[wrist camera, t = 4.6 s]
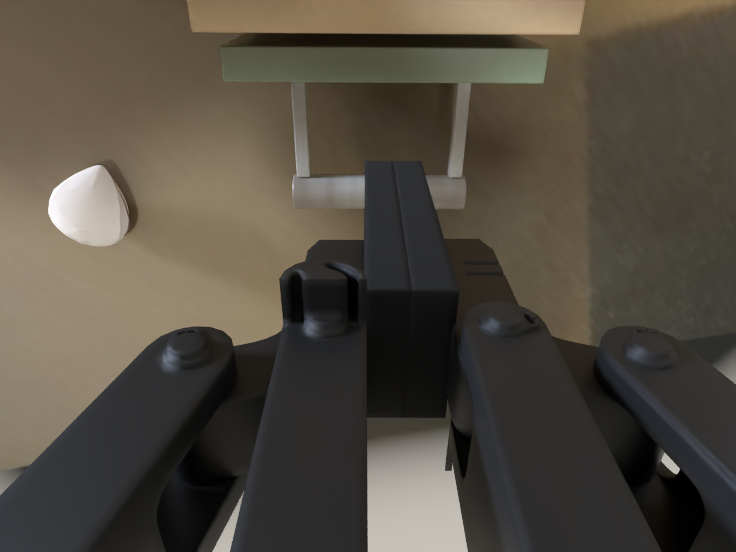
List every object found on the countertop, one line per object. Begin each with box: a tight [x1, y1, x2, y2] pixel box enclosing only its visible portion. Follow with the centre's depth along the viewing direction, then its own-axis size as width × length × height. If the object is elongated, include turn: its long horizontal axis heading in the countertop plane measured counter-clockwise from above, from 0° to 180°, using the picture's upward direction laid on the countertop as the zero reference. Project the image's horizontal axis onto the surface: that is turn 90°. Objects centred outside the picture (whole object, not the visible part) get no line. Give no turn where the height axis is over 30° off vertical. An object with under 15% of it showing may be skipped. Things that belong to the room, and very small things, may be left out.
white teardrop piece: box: [48, 165, 130, 246], centre depth 29 cm, size 4×5×2 cm
